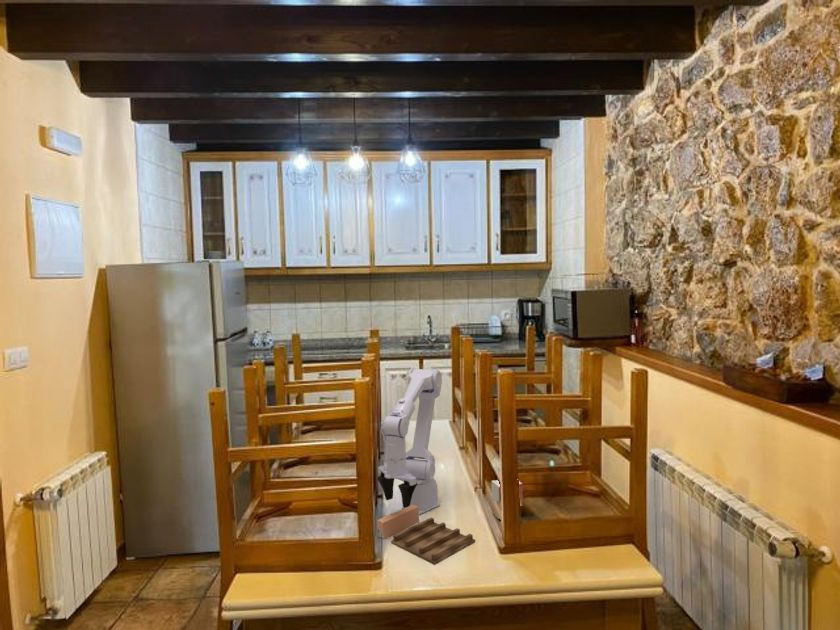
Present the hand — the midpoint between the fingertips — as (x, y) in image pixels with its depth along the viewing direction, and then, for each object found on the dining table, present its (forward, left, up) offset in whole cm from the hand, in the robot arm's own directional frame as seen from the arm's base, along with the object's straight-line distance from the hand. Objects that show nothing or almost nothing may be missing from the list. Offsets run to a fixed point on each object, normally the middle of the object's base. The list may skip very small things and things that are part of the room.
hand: (397, 502), depth 165 cm
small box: (-28, +18, -8) cm, 34 cm away
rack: (-1, +13, -8) cm, 15 cm away
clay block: (0, 0, -8) cm, 8 cm away
